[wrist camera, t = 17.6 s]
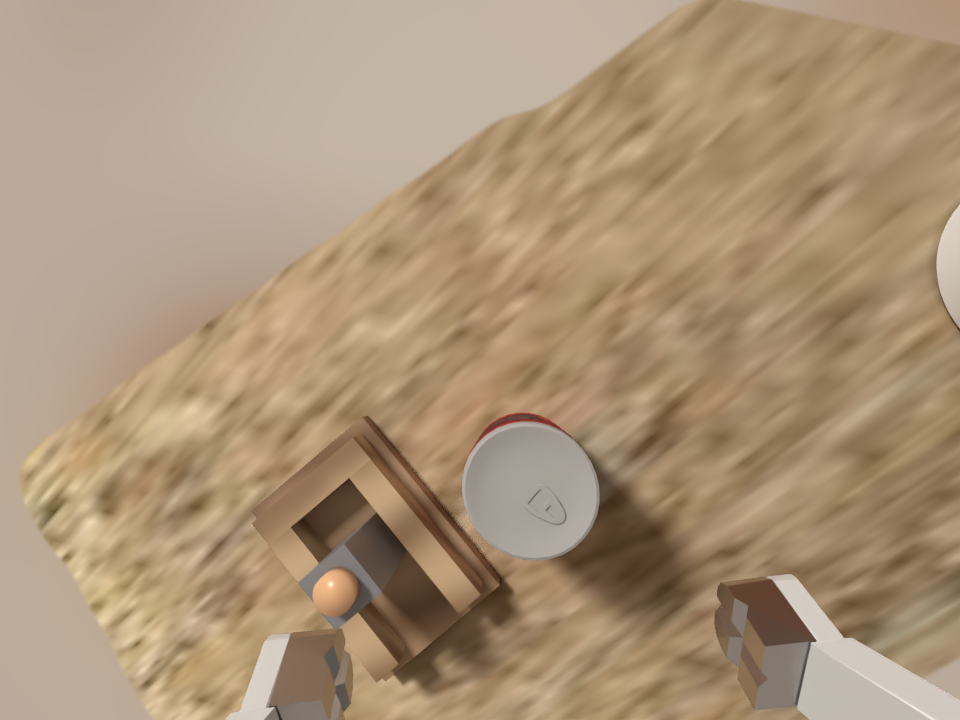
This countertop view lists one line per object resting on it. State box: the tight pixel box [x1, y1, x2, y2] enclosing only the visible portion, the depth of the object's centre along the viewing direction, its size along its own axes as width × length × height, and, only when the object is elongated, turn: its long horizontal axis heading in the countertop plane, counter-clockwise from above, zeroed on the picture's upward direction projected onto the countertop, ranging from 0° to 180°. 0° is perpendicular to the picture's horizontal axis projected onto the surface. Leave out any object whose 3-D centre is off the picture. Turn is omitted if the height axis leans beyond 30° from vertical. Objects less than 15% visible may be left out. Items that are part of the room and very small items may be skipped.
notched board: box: [252, 416, 500, 682], centre depth 39 cm, size 16×11×4 cm
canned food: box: [462, 413, 600, 561], centre depth 35 cm, size 8×8×11 cm
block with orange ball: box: [298, 512, 407, 629], centre depth 35 cm, size 4×4×9 cm
